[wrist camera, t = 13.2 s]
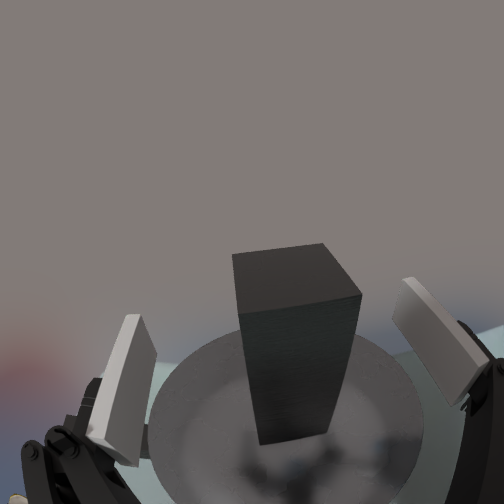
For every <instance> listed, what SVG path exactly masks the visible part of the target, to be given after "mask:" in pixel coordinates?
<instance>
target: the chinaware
mask: <svg viewBox="0 0 504 504" xmlns="http://www.w3.org/2000/svg"><path fill="white" fill-rule="evenodd" d="M9 503H10V504H28V501H27V498H26V497H24V496H22V495H19V494H13V495H12V496H11V497H10V500H9Z"/></svg>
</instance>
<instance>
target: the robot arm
mask: <svg viewBox="0 0 504 504" xmlns="http://www.w3.org/2000/svg"><path fill="white" fill-rule="evenodd" d="M392 320H393V321H394V323H395V324H396V325H397V327H398V328H399V330H400V331H401V332H402V334H403V335H404V336H405V338H406V339H407V341H408V342H409V343H410V345H411V346H412V348H413V349H414V351H415V352H416V354H417V355H418V357H419V358H420V359H421V361H422V362H423V364H424V365H425V367H426V368H427V370H428V371H429V373H430V375H431V376H432V378H433V379H434V381H435V382H436V384H437V385H438V387H439V389H440V390H441V392H442V393H443V395H444V397H445V398H446V400H447V401H448V403H449V405H450V406H453V405H454V404H456V403H458V402H459V401H461V400H462V399H463V398H464V397H465V395H466V394H467V393H469V395H470V397H469V398H468V399H467V400H466V402H465V403H464V404H463V405H462V407H461V409H460V411H462V410H463V409H464V408H465V406H466V405H467V408H466V409H465V411H466V418H465V425H464V431H463V437H462V442H461V447H460V452H459V456H458V461H457V465H456V469H455V472H454V476H453V480H452V483H451V486H450V489H449V492H448V495H447V498H446V501H445V504H504V358H498V359H496V358H495V357H494V356H493V355H492V354H491V353H490V351H489V350H488V349H487V348H486V347H485V345H484V344H483V343H482V342H481V341H480V339H478V337H477V336H476V335H475V334H473V331H472V330H471V329H470V328H469V327H468V326H467V325H466V324H464V323H462V322H461V321H459V320H458V321H456V320H455V319H454V318H453V317H452V316H451V315H450V314H449V313H448V312H447V310H446V309H445V308H444V307H443V306H442V305H441V304H440V303H439V302H438V301H437V300H436V299H435V298H434V297H433V296H432V295H431V294H430V293H429V292H428V291H427V290H426V289H425V288H424V287H423V286H422V285H421V284H420V283H419V282H418V281H417V280H416V279H415V278H414V277H409V278H404V279H402V283H401V287H400V291H399V295H398V299H397V304H396V307H395V311H394V314H393V318H392ZM156 357H157V352H156V350H155V348H154V345H153V343H152V341H151V338H150V336H149V334H148V331H147V329H146V326H145V324H144V321H143V319H142V316H141V314H132V315H126V318H125V320H124V322H123V325H122V327H121V330H120V332H119V335H118V337H117V340H116V343H115V345H114V348H113V351H112V353H111V356H110V359H109V362H108V364H107V367H106V370H105V373H104V376H103V378H93V380H92V381H91V382H90V383H89V385H88V386H87V388H86V391H85V394H84V398H83V400H82V402H81V406H80V408H79V412H78V415H77V418H76V421H75V424H74V428H73V431H72V432H71V431H70V430H69V429H68V428H66V427H64V426H60V425H58V426H54V427H52V428H51V429H50V430H48V432H47V434H46V435H45V440H44V442H45V446H42V445H41V444H40V443H39V442H37V441H35V440H30V441H27V442H26V443H25V444H24V445H23V447H22V450H21V461H22V470H23V478H24V484H25V490H26V496H27V501H28V504H141V503H140V501H139V500H138V499H137V497H136V496H135V495H134V493H133V492H132V491H131V489H130V488H129V487H128V485H127V484H126V482H125V481H124V479H123V478H122V477H121V475H120V474H119V472H118V471H117V469H116V468H115V467H114V463H115V461H117V462H118V463H119V464H121V465H124V466H130V467H137V468H138V466H139V458H140V450H141V442H142V435H143V428H144V422H145V416H146V410H147V404H148V398H149V392H150V387H151V382H152V377H153V372H154V367H155V362H156Z"/></svg>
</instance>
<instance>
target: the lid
mask: <svg viewBox="0 0 504 504" xmlns="http://www.w3.org/2000/svg"><path fill="white" fill-rule="evenodd" d="M232 260H233V268H234V269H233V270H234V280H235V290H236V299H237V309H238V317H239V323H240V330H238V331H235V332H232V333H229V334H226V335H224V336H222V337H220V338H217V339H215V340H213V341H211V342H210V343H208V344H206V345H204V346H202V347H201V348H199V349H198V350H196V351H195V352H194V353H192V354H191V355H190V356H188V357H187V358H186V359H185V360H184V361H182V362H181V363H180V364H179V365H178V366H177V367H176V368H175V369H174V371H173V372H172V373H171V374H170V375H169V377H168V378H167V379H166V381H165V382H164V383H163V385H162V387H161V388H160V390H159V392H158V394H157V396H156V398H155V401H154V403H153V406H152V409H151V413H150V417H149V422H148V447H149V454H150V458H151V461H152V465H153V468H154V470H155V472H156V474H157V477H158V479H159V481H160V483H161V484H162V486H163V487H164V489H165V490H166V492H167V493H168V494H169V496H170V497H171V498H172V500H173V501H174V502H175V503H176V504H388V503H389V502H390V501H391V500H392V499H393V498H394V497H395V496H396V495H397V493H398V492H399V491H400V489H401V488H402V487H403V485H404V484H405V483H406V481H407V479H408V478H409V476H410V474H411V472H412V470H413V468H414V466H415V464H416V461H417V458H418V455H419V452H420V449H421V444H422V437H423V414H422V408H421V403H420V400H419V397H418V394H417V391H416V389H415V387H414V385H413V383H412V381H411V380H410V378H409V377H408V375H407V374H406V372H405V371H404V369H403V368H402V367H401V366H400V365H399V364H398V363H397V362H396V361H395V359H394V358H392V357H391V356H390V355H389V354H388V353H387V352H385V351H384V350H383V349H381V348H380V347H378V346H377V345H375V344H374V343H372V342H370V341H368V340H366V339H365V338H363V337H361V336H358V335H356V334H355V330H356V326H357V321H358V316H359V311H360V305H361V300H362V293H361V291H360V290H359V289H358V287H357V286H356V285H355V283H354V282H353V281H352V280H351V278H350V277H349V276H348V274H347V273H346V272H345V271H344V269H343V268H342V267H341V265H340V264H339V263H338V262H337V260H336V259H335V258H334V257H333V255H332V254H331V253H330V252H329V250H328V249H327V248H326V247H325V246H324V244H323V243H320V244H312V245H304V246H296V247H288V248H279V249H271V250H263V251H255V252H246V253H239V254H232Z"/></svg>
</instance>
